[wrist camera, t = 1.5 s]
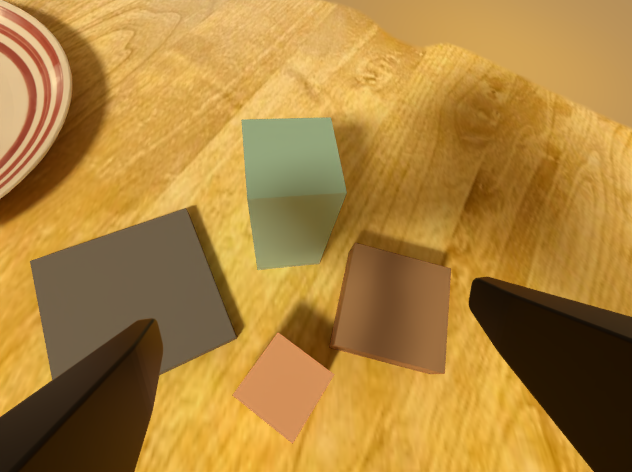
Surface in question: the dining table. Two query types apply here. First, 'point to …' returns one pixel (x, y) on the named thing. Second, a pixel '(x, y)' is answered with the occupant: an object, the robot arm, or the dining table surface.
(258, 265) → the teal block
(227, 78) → the dining table surface
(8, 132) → the dinner plate
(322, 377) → the terracotta block
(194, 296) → the coaster
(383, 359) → the walnut tile
